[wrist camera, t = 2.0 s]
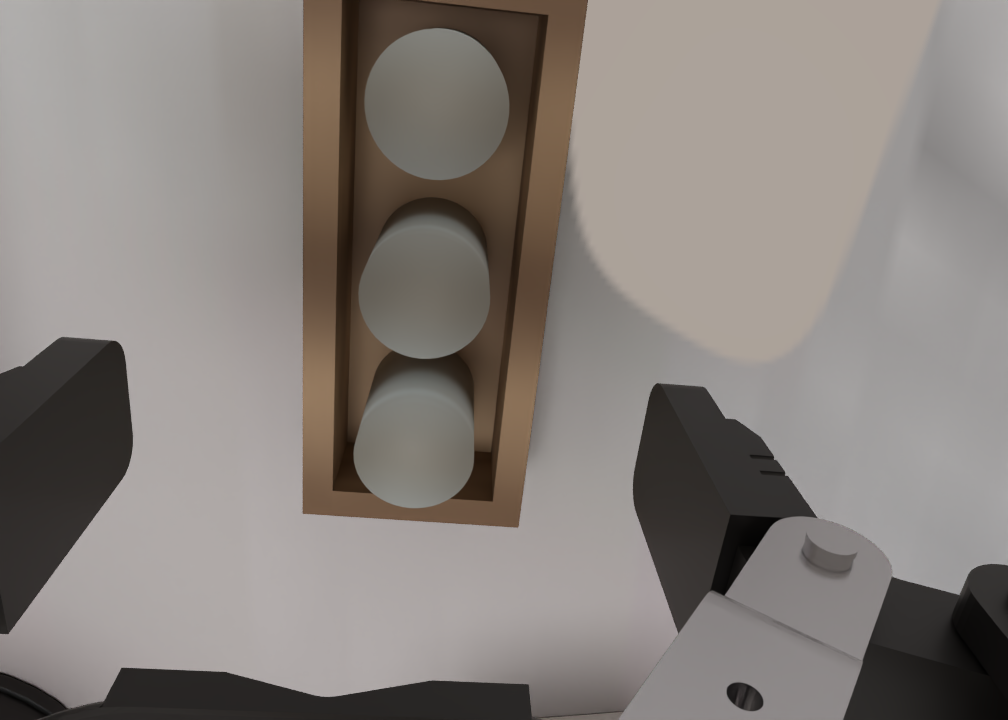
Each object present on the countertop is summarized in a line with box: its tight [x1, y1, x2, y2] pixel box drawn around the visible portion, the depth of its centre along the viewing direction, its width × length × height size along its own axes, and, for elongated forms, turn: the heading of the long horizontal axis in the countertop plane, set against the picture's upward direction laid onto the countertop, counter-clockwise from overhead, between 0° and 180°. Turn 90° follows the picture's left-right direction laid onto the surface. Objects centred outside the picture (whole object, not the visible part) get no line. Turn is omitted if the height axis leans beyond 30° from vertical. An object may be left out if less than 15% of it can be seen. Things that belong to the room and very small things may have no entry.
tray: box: [303, 0, 588, 527], centre depth 20 cm, size 14×6×5 cm, turn 174°
